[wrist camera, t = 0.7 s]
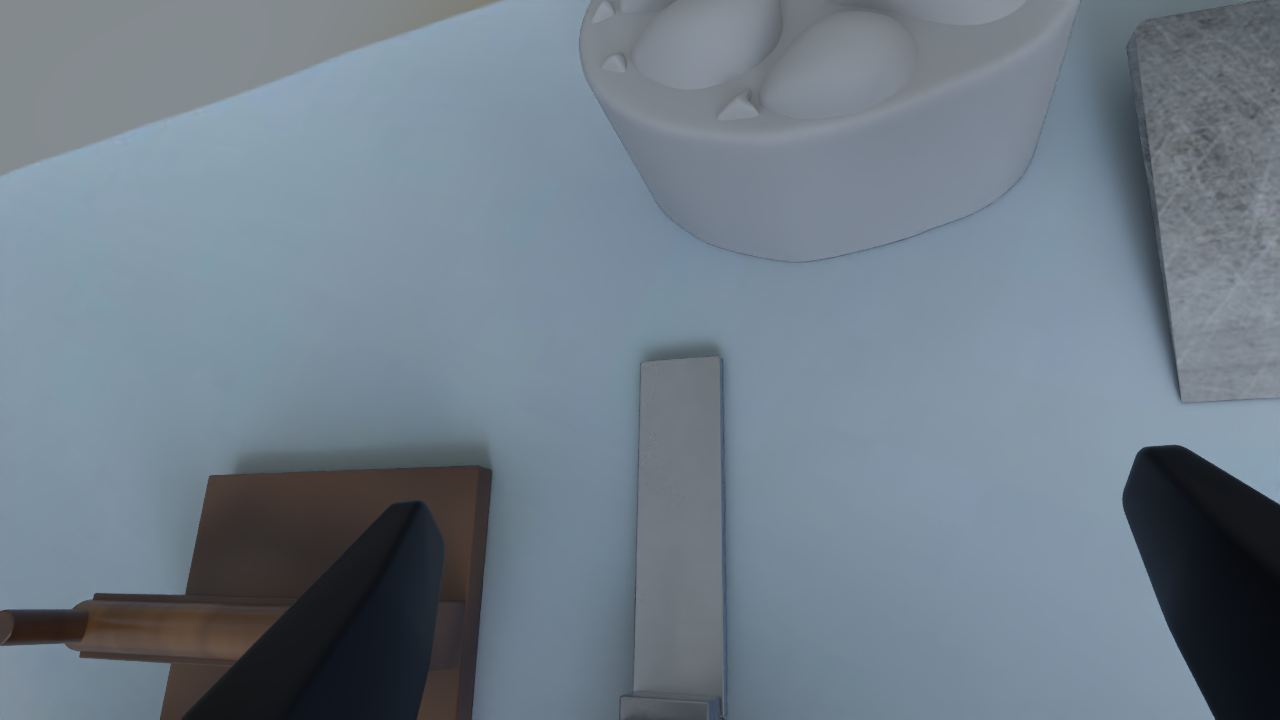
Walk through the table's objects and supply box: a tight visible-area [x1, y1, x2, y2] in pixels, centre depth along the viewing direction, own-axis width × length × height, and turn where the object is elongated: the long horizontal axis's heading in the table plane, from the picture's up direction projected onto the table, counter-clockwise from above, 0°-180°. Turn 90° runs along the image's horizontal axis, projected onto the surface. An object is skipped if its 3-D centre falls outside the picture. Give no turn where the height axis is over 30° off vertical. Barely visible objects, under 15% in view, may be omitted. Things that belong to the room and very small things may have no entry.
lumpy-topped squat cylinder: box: [579, 0, 1081, 262], centre depth 23 cm, size 10×13×9 cm
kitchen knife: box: [619, 355, 727, 720], centre depth 21 cm, size 20×3×3 cm, turn 179°
